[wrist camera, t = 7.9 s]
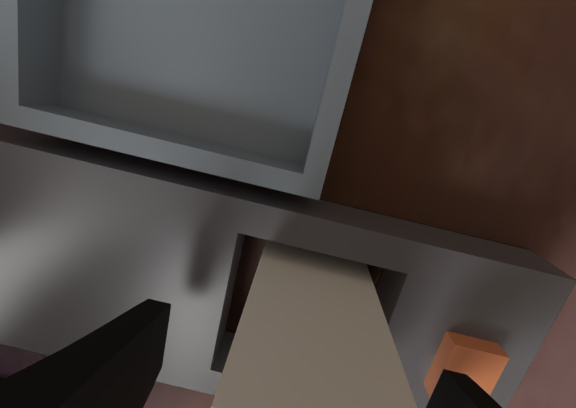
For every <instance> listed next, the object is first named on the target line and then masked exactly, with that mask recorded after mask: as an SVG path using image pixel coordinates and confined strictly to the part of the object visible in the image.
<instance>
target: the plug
mask: <svg viewBox="0 0 576 408" xmlns="http://www.w3.org/2000/svg"><path fill="white" fill-rule="evenodd" d="M211 408H417V406H416V403H415V400H414V397H413V394H412V391H411V389H410V386H409V383H408V380H407V377H406V374H405V372H404V369H403V366H402V363H401V360H400V357H399V355H398V352H397V349H396V346H395V343H394V341H393V338H392V335H391V332H390V329H389V326H388V324H387V321H386V318H385V315H384V312H383V309H382V307H381V304H380V301H379V298H378V295H377V292H376V290H375V287H374V284H373V281H372V278H371V275H370V273H369V270H368V267H367V264H365V263H360V262H356V261H352V260H348V259H344V258H340V257H336V256H331V255H327V254H323V253H319V252H315V251H311V250H306V249H302V248H298V247H294V246H290V245H286V244H282V243H277V242H273V241H269V240H266V242H265V246H264V249H263V252H262V255H261V258H260V261H259V264H258V267H257V270H256V273H255V276H254V279H253V282H252V285H251V288H250V291H249V294H248V297H247V300H246V303H245V306H244V309H243V312H242V315H241V318H240V321H239V324H238V327H237V330H236V333H235V336H234V339H233V342H232V345H231V348H230V351H229V354H228V357H227V360H226V363H225V366H224V369H223V372H222V375H221V378H220V382H219V385H218V388H217V391H216V394H215V397H214V400H213V403H212V406H211Z"/></svg>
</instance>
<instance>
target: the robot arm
mask: <svg viewBox="0 0 576 408" xmlns="http://www.w3.org/2000/svg"><path fill="white" fill-rule="evenodd" d="M170 310H171V304H169V303H165V302H161V301H157V300H153V299H147V300H145V301H143V302H141V303H140V304H138V305H136V306H134V307H133V308H131V309H129V310H128V311H126V312H124V313H123V314H121V315H119V316H118V317H116V318H115V319H113V320H111V321H109V322H108V323H106V324H104V325H103V326H101V327H99V328H98V329H96V330H94V331H93V332H91V333H89V334H87V335H86V336H84V337H82V338H80V339H79V340H77V341H75V342H73V343H72V344H70V345H68V346H66V347H65V348H63V349H61V350H59V351H57V352H55V353H53V354H52V355H50V356H48V357H46V358H44V359H42V360H40V361H38V362H36V363H34V364H33V365H31V366H29V367H27V368H25V369H23V370H21V371H19V372H17V373H15V374H13V375H11V376H9V377H7V378H5V379H3V380H1V381H0V408H143V406H144V404H145V402H146V400H147V398H148V396H149V394H150V392H151V390H152V388H153V386H154V383H155V381H156V379H157V377H158V375H159V373H160V371H161V368H162V364H163V357H164V351H165V344H166V337H167V330H168V323H169V317H170ZM426 408H502V407H501V406H500V405H499V404H498V403H497V402H496V401H495V400H494V399H493V398H492V397H491V396H490V395H489V394H488V393H487V392H486V391H484V390H483V389H482V388H481V387H480V386H479V385H478V384H477V383H476V382H475V381H474V380H472V379H471V378H470V377H469V376H468V375H467V374H463V373H459V372H454V371H450V370H446V369H443V371H442V373H441V375H440V378H439V380H438V382H437V384H436V386H435V388H434V391H433V393H432V395H431V397H430V399H429V402H428V404H427V406H426Z"/></svg>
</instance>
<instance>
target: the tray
mask: <svg viewBox="0 0 576 408" xmlns="http://www.w3.org/2000/svg"><path fill="white" fill-rule="evenodd" d="M372 3H373V0H0V123H1V124H5V125H10V126H14V127H18V128H22V129H26V130H30V131H34V132H38V133H43V134H47V135H51V136H55V137H59V138H63V139H67V140H72V141H76V142H80V143H84V144H88V145H92V146H96V147H101V148H105V149H109V150H113V151H117V152H121V153H125V154H129V155H134V156H138V157H142V158H146V159H150V160H154V161H158V162H163V163H167V164H171V165H175V166H179V167H183V168H187V169H192V170H196V171H200V172H204V173H208V174H212V175H216V176H220V177H225V178H229V179H233V180H237V181H241V182H245V183H249V184H254V185H258V186H262V187H266V188H270V189H274V190H278V191H283V192H287V193H291V194H295V195H299V196H303V197H307V198H311V199H316V200H319V199H320V195H321V191H322V188H323V184H324V180H325V177H326V173H327V169H328V166H329V162H330V158H331V155H332V151H333V147H334V143H335V140H336V136H337V132H338V129H339V125H340V121H341V118H342V114H343V110H344V107H345V103H346V99H347V96H348V92H349V88H350V84H351V81H352V77H353V73H354V70H355V66H356V62H357V59H358V55H359V51H360V48H361V44H362V40H363V36H364V33H365V29H366V25H367V22H368V18H369V14H370V11H371V7H372Z"/></svg>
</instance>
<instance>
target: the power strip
mask: <svg viewBox="0 0 576 408" xmlns="http://www.w3.org/2000/svg"><path fill="white" fill-rule="evenodd" d="M245 235H248V236H253V237H257V238H261V239H265V240H269V241H273V242H277V243H282V244H286V245H290V246H294V247H298V248H302V249H306V250H311V251H315V252H319V253H323V254H327V255H331V256H336V257H340V258H344V259H348V260H352V261H356V262H360V263H365V264H369V265H373V266H377V267H381V268H383V271H382V274H381V276H380V279H379V282H378V285H377V288H376V292H377V295H378V298H379V301H380V304H381V307H382V309H383V312H384V315H385V318H386V321H387V324H388V326H389V329H390V332H391V335H392V338H393V341H394V343H395V346H396V349H397V352H398V355H399V357H400V360H401V363H402V366H403V369H404V372H405V374H406V377H407V380H408V383H409V386H410V389H411V391H412V394H413V397H414V400H415V403H416V406H417V408H426V406H427V404H428V402H429V399H430V397H431V395H432V393H433V391H434V388H435V386H436V384H437V382H438V380H439V378H440V375H441V373H442V371H443V369H446V370H450V371H454V372H459V373H463V374H467V375H468V376H469V377H470V378H471V379H472V380H474V381H475V382H476V383H477V384H478V385H479V386H480V387H481V388H482V389H483V390H484V391H486V392H487V393H488V394H489V395H490V396H491V397H492V398H493V399H494V400H495V401H496V402H497V403H498V404H499V405H500V406H501V407H502V408H507V406H508V404H509V402H510V400H511V399H512V397H513V395H514V393H515V391H516V390H517V388H518V386H519V384H520V382H521V381H522V379H523V377H524V375H525V373H526V372H527V370H528V368H529V366H530V364H531V363H532V361H533V359H534V357H535V355H536V354H537V352H538V350H539V348H540V347H541V345H542V343H543V341H544V339H545V338H546V336H547V334H548V332H549V330H550V329H551V327H552V325H553V323H554V321H555V320H556V318H557V316H558V314H559V312H560V311H561V309H562V307H563V305H564V303H565V302H566V300H567V298H568V296H569V294H570V293H571V291H572V289H573V287H574V285H575V284H576V280H575V279H574V278H572V277H571V276H569V275H568V274H566V273H565V272H563V271H562V270H560V269H559V268H557V267H555V266H554V265H552V264H551V263H549V262H548V261H546V260H545V259H543V258H542V257H540V256H539V255H537V254H536V253H534V252H532V251H531V250H527V249H523V248H518V247H514V246H510V245H506V244H502V243H498V242H494V241H489V240H485V239H481V238H477V237H473V236H469V235H465V234H460V233H456V232H452V231H448V230H444V229H440V228H436V227H432V226H427V225H423V224H419V223H415V222H411V221H407V220H403V219H398V218H394V217H390V216H386V215H382V214H378V213H374V212H369V211H365V210H361V209H357V208H353V207H349V206H345V205H341V204H336V203H332V202H328V201H324V200H320V199H319V200H316V199H311V198H307V197H303V196H299V195H295V194H291V193H287V192H283V191H278V190H274V189H270V188H266V187H262V186H258V185H254V184H249V183H245V182H241V181H237V180H233V179H229V178H225V177H220V176H216V175H212V174H208V173H204V172H200V171H196V170H192V169H187V168H183V167H179V166H175V165H171V164H167V163H163V162H158V161H154V160H150V159H146V158H142V157H138V156H134V155H129V154H125V153H121V152H117V151H113V150H109V149H105V148H101V147H96V146H92V145H88V144H84V143H80V142H76V141H72V140H67V139H63V138H59V137H55V136H51V135H47V134H43V133H38V132H34V131H30V130H26V129H22V128H18V127H14V126H10V125H5V124H1V123H0V344H2V345H6V346H11V347H15V348H19V349H23V350H27V351H31V352H36V353H40V354H44V355H48V356H50V355H52V354H53V353H55V352H57V351H59V350H61V349H63V348H65V347H66V346H68V345H70V344H72V343H73V342H75V341H77V340H79V339H80V338H82V337H84V336H86V335H87V334H89V333H91V332H93V331H94V330H96V329H98V328H99V327H101V326H103V325H104V324H106V323H108V322H109V321H111V320H113V319H115V318H116V317H118V316H119V315H121V314H123V313H124V312H126V311H128V310H129V309H131V308H133V307H134V306H136V305H138V304H140V303H141V302H143V301H145V300H147V299H153V300H157V301H161V302H165V303H169V304H171V310H170V317H169V323H168V330H167V337H166V344H165V351H164V357H163V364H162V368H161V371H160V373H159V375H158V377H157V379H156V382H161V383H165V384H169V385H173V386H177V387H181V388H186V389H190V390H194V391H198V392H202V393H206V394H211V395H215V394H216V391H217V388H218V385H219V382H220V378H221V375H222V372H223V369H224V366H225V363H226V360H227V357H228V354H229V351H230V348H231V345H232V342H233V339H234V336H235V333H233V332H229V331H225V330H226V325H227V320H228V315H229V310H230V306H231V301H232V296H233V291H234V286H235V282H236V277H237V272H238V267H239V262H240V258H241V253H242V248H243V243H244V238H245Z"/></svg>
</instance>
